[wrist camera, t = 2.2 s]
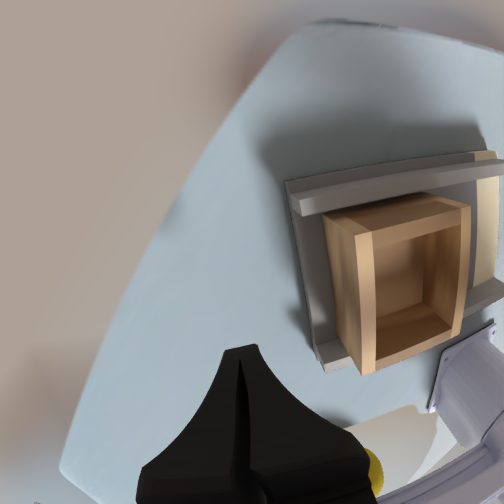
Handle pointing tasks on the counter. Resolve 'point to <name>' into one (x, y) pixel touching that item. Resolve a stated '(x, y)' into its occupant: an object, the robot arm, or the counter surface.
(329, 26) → the counter surface
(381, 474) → the lemon
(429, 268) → the crate
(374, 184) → the bay
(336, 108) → the counter surface
